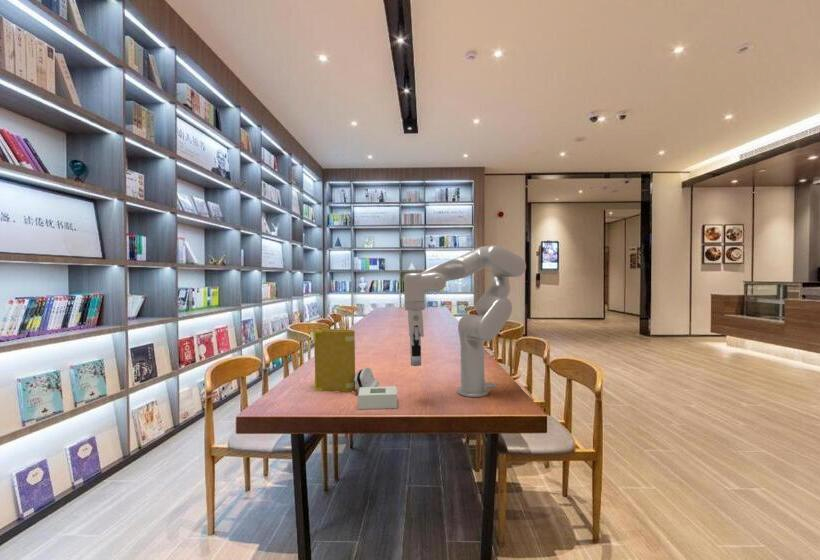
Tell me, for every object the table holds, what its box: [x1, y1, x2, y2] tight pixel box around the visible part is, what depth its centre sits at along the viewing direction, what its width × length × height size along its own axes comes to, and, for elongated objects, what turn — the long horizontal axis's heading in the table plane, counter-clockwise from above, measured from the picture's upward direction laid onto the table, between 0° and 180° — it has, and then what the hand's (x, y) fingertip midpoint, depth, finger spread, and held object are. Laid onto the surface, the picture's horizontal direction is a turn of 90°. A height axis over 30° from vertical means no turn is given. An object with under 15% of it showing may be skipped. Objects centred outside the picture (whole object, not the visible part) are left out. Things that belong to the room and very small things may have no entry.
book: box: [313, 328, 356, 393], centre depth 160 cm, size 17×7×25 cm, turn 71°
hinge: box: [354, 367, 380, 394], centre depth 158 cm, size 17×5×10 cm, turn 174°
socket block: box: [357, 385, 398, 410], centre depth 141 cm, size 14×10×5 cm
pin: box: [408, 333, 422, 367], centre depth 142 cm, size 4×4×12 cm
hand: (415, 354), depth 142 cm, fingers closed on pin, 4 cm apart
